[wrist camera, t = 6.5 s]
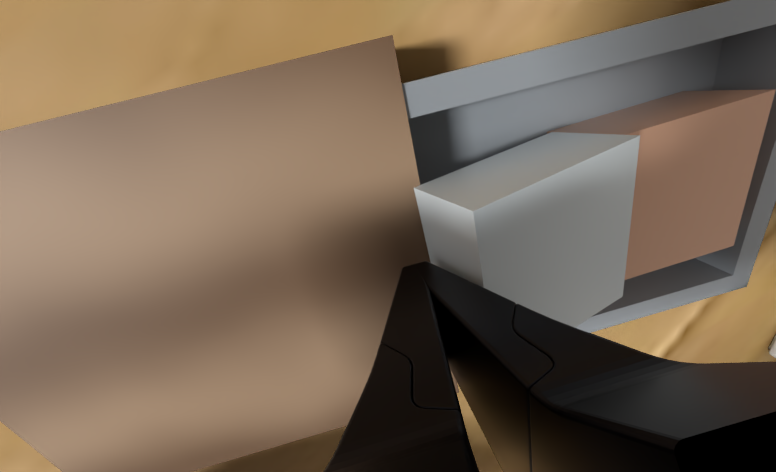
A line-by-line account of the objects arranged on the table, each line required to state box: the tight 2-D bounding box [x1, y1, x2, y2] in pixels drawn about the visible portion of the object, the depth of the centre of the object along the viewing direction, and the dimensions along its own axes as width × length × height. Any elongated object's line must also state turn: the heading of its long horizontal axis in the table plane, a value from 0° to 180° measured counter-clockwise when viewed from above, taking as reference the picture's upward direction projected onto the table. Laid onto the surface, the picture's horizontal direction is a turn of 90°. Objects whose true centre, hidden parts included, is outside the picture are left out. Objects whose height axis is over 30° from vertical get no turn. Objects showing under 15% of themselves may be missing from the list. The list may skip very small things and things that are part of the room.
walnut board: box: [0, 35, 459, 472], centre depth 10 cm, size 12×14×2 cm
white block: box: [414, 132, 640, 327], centre depth 9 cm, size 5×5×2 cm
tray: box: [401, 0, 776, 333], centre depth 11 cm, size 10×12×2 cm
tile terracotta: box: [547, 89, 776, 280], centre depth 11 cm, size 5×5×2 cm
